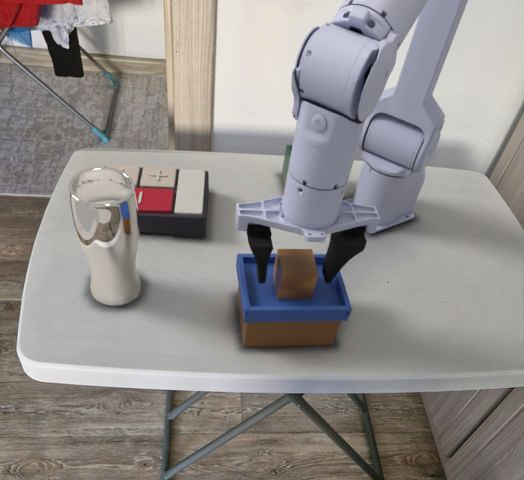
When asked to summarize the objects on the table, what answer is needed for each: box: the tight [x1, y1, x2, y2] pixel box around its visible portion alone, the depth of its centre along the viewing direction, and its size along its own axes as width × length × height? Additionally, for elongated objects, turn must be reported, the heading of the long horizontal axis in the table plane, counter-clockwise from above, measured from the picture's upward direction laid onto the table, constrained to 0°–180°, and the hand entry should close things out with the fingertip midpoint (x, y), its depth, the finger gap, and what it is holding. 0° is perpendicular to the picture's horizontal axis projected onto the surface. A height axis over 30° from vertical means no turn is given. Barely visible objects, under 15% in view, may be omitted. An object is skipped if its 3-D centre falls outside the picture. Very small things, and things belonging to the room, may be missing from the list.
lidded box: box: [235, 253, 353, 348], centre depth 63 cm, size 12×9×7 cm
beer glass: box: [68, 166, 142, 307], centre depth 60 cm, size 7×7×15 cm
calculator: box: [104, 163, 210, 239], centre depth 74 cm, size 11×4×15 cm
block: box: [273, 248, 318, 299], centre depth 59 cm, size 4×4×4 cm
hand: (293, 277), depth 60 cm, fingers open, 7 cm apart
